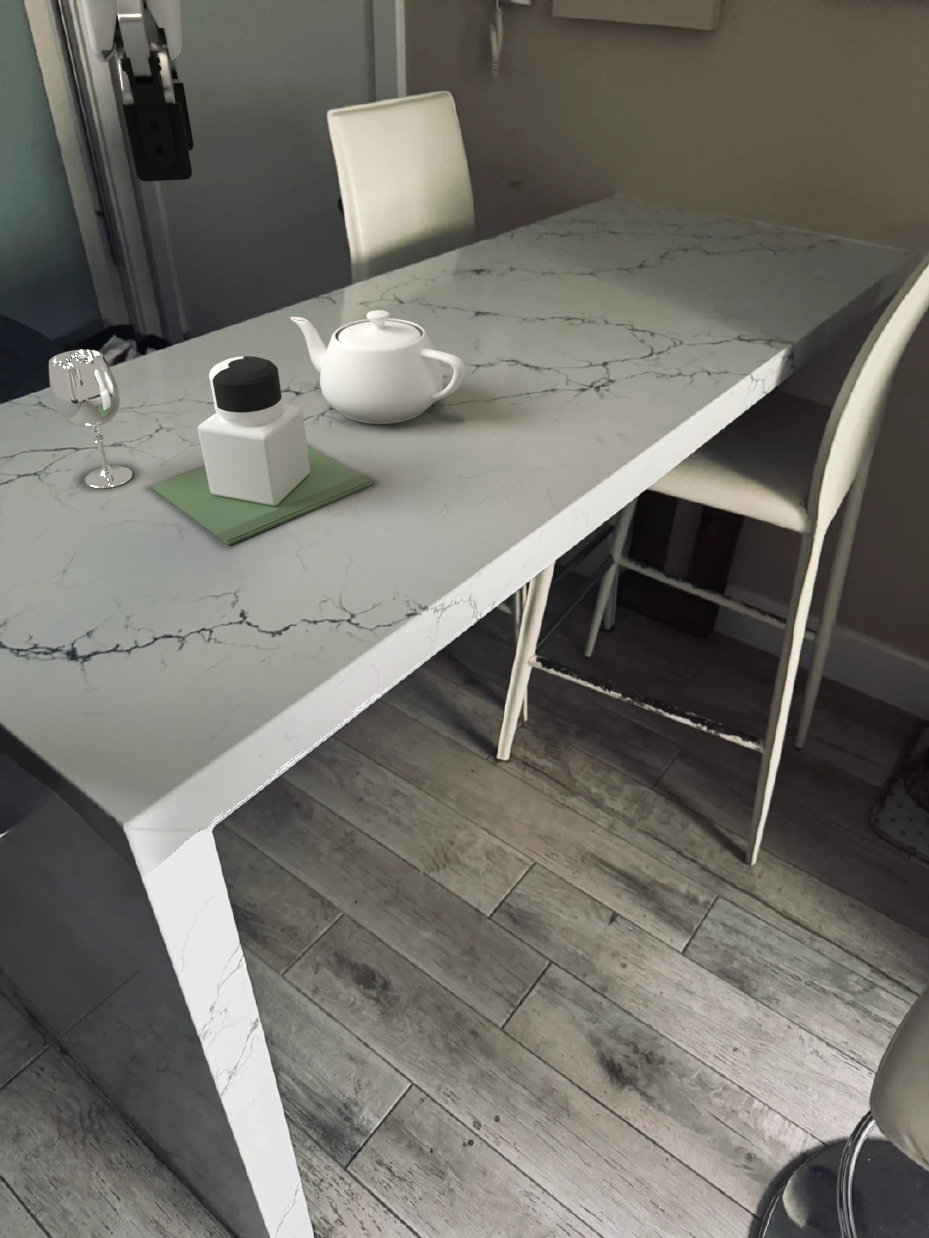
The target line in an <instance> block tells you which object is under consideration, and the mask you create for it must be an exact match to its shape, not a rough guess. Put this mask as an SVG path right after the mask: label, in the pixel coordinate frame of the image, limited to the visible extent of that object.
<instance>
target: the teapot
mask: <svg viewBox="0 0 929 1238" xmlns="http://www.w3.org/2000/svg"><path fill="white" fill-rule="evenodd" d="M390 316H391V315H390V312H389V311H386V310H380V309H376V310H371V311H368V312H367V313H366V318H365V319H359V320H355V321H351V322H347V323H345V324H343V325H341V326H340V327H338V328H337V329H335V331H334V332H333V333H332V334H331V338H330V340H329V343H328V345H327V346H326V345H325V343H324V342H323V340H322V338H321V336H320V334H319V333H318V330H317V329H316V327H315V326H314V325H313V324H312V322H311V321H310V320H309V319H306V318H304V317H300V316H291V317H290V318H289V319H290V320H291V321H292V322H293V323H294V324H295V325H297V327H298V328H300V330H301V332H302V334H303V336H304V339H305V342H306V345H307V346H306V347H307V350H308V354H309V358H310V361H311V363H312V365H313V367H314V369H315V370H316V371H317V372H318V373H319V374H320V376H319V385H320V390H321V394H322V396H323V398H324V399H325V400H326V402H327V403H328V404H329V406H331V407H332V408H334V409H335V410H336V411H337V412H339V413H341V414H342V415H343V416H344V417H345V418H348V419H350V420H352V421H356V422H359V423H363V424H371V425H372V424H374V425H389V424H396V423H402V422H406V421H410V420H413V419H414V418H417V417H418V416H420V415H422V414H423V413H424V412H425V411H427V409H428V408H430V407H431V406H432V405H433V404H435V402H436V401H439V400H441V399H444V398H446V397H448V396H449V395H451V394H453V393H454V392H455V391H456V390H457V389H458V388H459V386H460V385H461V384H462V382H463V380H464V378H465V371H466V368H465V363H464V362H463V360H462V359H461V358H460V357H459V356H456V355H454V354H451V353H448V352H444V351H440V350H435V347H434V346H433V344H432V342H431V339H430V337H429V335H428V333H427V332H426V330H425V329H424V328H423V327H422V326H421V325H419V324H417V323H416V322H412V321H409V320H406V319H405V320H404V319H399V318H390ZM441 362H442V363H445V364H447V365H449V366H450V367H451V368H452V370H453V375H452V378H451V380H450V381H449V383H448V385H447V386H445V387H444V372H443V367H442V365H441Z"/></svg>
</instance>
